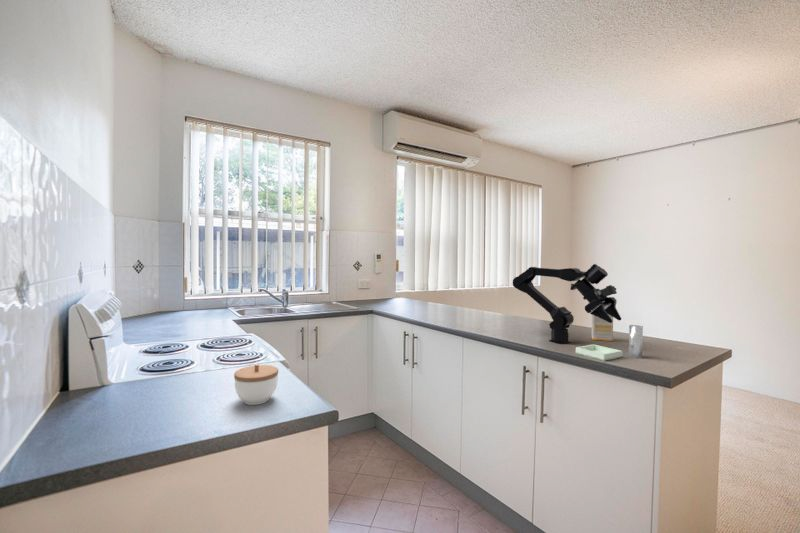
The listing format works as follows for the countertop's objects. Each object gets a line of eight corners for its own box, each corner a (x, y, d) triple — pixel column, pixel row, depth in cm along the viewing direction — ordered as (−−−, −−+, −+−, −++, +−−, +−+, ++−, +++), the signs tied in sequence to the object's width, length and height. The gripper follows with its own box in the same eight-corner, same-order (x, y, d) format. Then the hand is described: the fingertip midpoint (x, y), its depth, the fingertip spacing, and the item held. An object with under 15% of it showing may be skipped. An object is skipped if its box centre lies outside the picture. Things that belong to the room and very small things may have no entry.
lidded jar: (246, 412, 88) (246, 374, 88) (226, 400, 95) (226, 364, 95) (286, 400, 96) (286, 364, 96) (265, 389, 103) (265, 356, 103)
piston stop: (625, 355, 143) (626, 325, 143) (632, 354, 145) (633, 324, 145) (637, 358, 139) (638, 327, 139) (644, 357, 142) (645, 326, 141)
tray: (575, 353, 146) (575, 347, 146) (593, 350, 151) (593, 344, 151) (603, 361, 136) (604, 354, 135) (622, 357, 141) (622, 350, 141)
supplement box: (610, 339, 172) (611, 311, 171) (612, 341, 167) (613, 313, 167) (590, 337, 174) (591, 310, 174) (592, 340, 170) (593, 312, 169)
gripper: (593, 279, 145) (623, 310, 137) (612, 278, 157) (640, 306, 149) (573, 297, 151) (600, 328, 143) (592, 294, 163) (618, 323, 155)
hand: (616, 321), depth 147 cm, fingers open, 9 cm apart
